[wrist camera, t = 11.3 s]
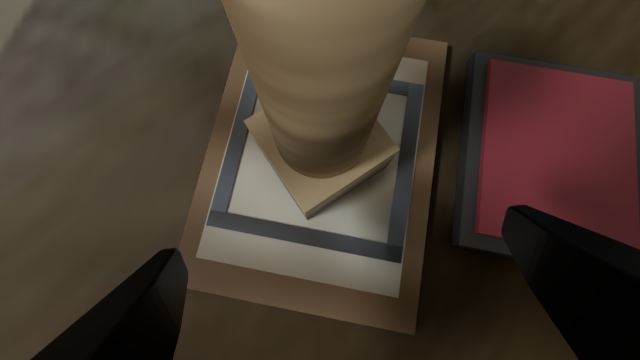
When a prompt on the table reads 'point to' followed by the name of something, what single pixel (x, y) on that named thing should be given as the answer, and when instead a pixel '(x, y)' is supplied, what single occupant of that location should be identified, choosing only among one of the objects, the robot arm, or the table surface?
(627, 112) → the ink pad
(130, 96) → the table surface
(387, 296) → the wooden picture frame
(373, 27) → the stamp
